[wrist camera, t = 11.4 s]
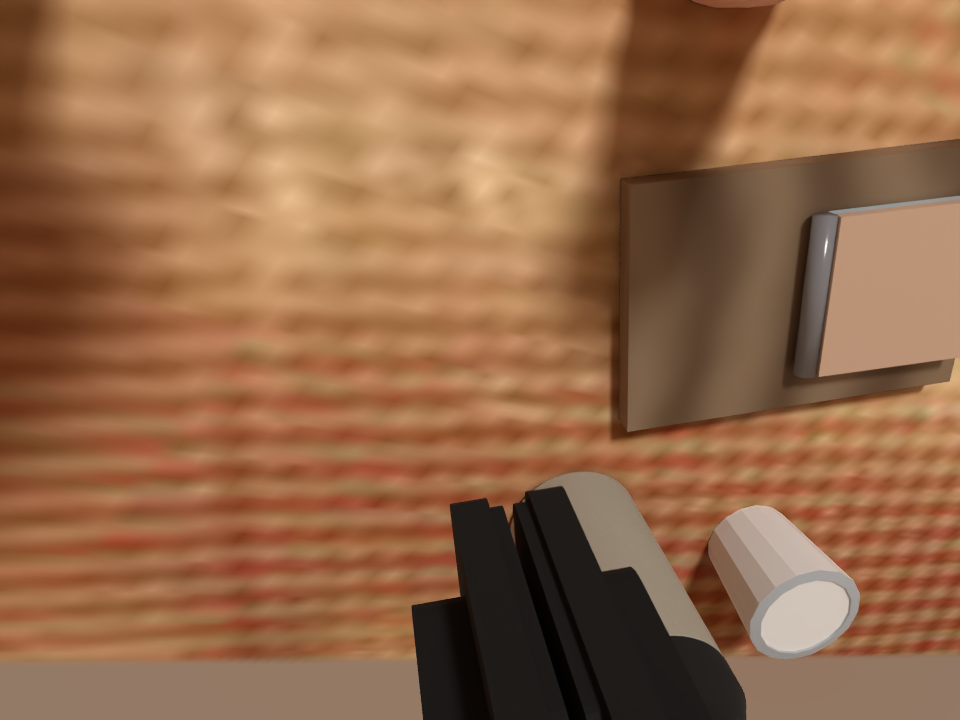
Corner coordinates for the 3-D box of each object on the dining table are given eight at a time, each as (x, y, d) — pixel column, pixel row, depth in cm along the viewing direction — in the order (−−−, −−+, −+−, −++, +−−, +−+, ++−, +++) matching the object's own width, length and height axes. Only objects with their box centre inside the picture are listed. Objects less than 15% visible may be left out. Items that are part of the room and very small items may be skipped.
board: (618, 418, 43) (627, 431, 41) (620, 179, 37) (630, 185, 35) (931, 370, 45) (949, 381, 44) (983, 136, 39) (1005, 140, 37)
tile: (970, 355, 41) (955, 347, 42) (1008, 197, 37) (991, 191, 38) (799, 379, 40) (788, 369, 41) (820, 219, 36) (807, 213, 37)
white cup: (788, 482, 47) (855, 554, 41) (802, 556, 50) (867, 634, 44) (688, 521, 47) (740, 599, 41) (709, 593, 50) (760, 676, 44)
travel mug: (518, 468, 43) (617, 738, 27) (644, 468, 45) (809, 724, 29) (501, 573, 46) (582, 870, 30) (619, 570, 48) (756, 851, 32)
